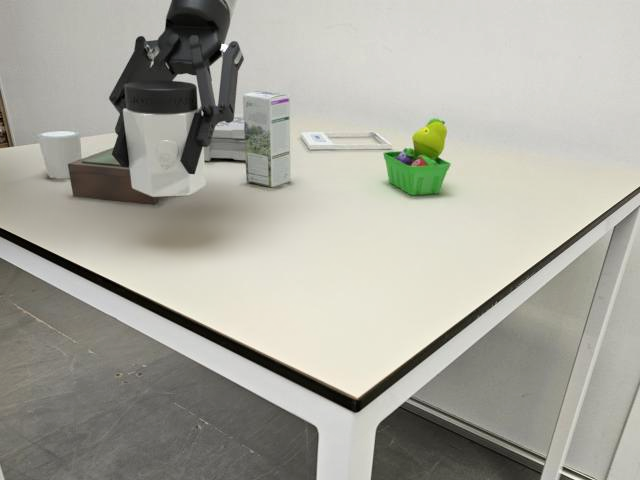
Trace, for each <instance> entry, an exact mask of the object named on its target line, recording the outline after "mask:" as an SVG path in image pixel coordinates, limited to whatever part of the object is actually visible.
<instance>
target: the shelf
mask: <svg viewBox="0 0 640 480" xmlns="http://www.w3.org/2000/svg"><path fill="white" fill-rule="evenodd" d="M113 149H114V146H113V147H111V148H108V149H105V150H102V151H100V152H97V153H94V154H91V155H88V156H85V157H83V158H82V159H80V160H77V161H74V162H71V163H69V164H68V169H69V175H70V178H69V181H70V187H71V192H72V196H73V197H81V198H89V199H99V200H109V201H118V202H129V203H137V204H148V205H156V204H158V203H159V197H152V196H149V195H147V194H145V193H142V192H140V191H137V190H135V189H133V188H132V185H131V176H130V168H129V166H128V168H126V167H122V166H121V165H120V164H119V163H118V161H117V160H116V159H115V158H114V157H113V155H112V151H113Z"/></svg>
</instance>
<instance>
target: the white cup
mask: <svg viewBox="0 0 640 480" xmlns="http://www.w3.org/2000/svg"><path fill="white" fill-rule="evenodd" d="M36 138H37V141H38V144H39V148H40V151H41V154H42V159H43V161H44V165H45V169H46V173H47V176H48V177H49V178H51V179H57V180H59V179H61V180H63V179H70V175H69V169H68V164H69V163H71V162H74V161H77V160H80V159H83V158H82V143H81V133H80V132H79V131H76V130H66V129H63V130H62V129H60V130H57V129H56V130H47V131H42V132H38V133H37V134H36Z"/></svg>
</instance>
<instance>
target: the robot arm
mask: <svg viewBox="0 0 640 480" xmlns="http://www.w3.org/2000/svg"><path fill="white" fill-rule="evenodd" d="M237 2H238V0H171V2H170V4H169V7H168V10H167V14H166V17H165V25H164V31H163V32H162V33H161V34H160V35H159V36H158V38H157V39H155V40H147V39H146V38H145V36H144V35H140V36H139V35H138V36H137V37H136V39H135V43H134V50H133V52H132V54H131V56H130V57H129V60H128V61H127V63H126V65H125V66H124V69H123V70H122V73H121V74H120V76H119V78H118V79H117V82H116V84H115V85H114V87H113V89H112V91H111V93H110V94H109V96H108V100H109V101H110V103H111V105H113V107H114V108H115V110H116V111H117V113H118V114H119V116H118V118H117V122H116V124H115V127H114V132H115V133H114V134H116V135H117V137H116V140H115V143H114V146H113V147H114V149H113V151H112V155H113V157H114V158H115V159H116V160H117V161H118V163H119V164H120V165H121V166H122V167H126V168H128V166H129V159H128V151H127V142H126V133H125V125H124V116H123V109H124V108H127V107H126V99H125V90H124V85H125V84H127V83H130V82H137V81H174V80H175V79H176V77H177V76H178V75H190V76H196V77H195V78H196V83H197V90H198V94H199V98H200V99H199V100H200V101H199V102H200V106H199V108H201V110H202V114H203V116H202V114H201V113H195V114H194V117H193V120H192V124H191V127H190V130H189V133H188V137H187V140H186V143H185V146H184V150H183V153H182V156H181V159H180V162H181V163H182V165H183V166H184V168H185V169H186V171H187V172H188V173H189V174H195V171H196V168H197V165H198V161H199V158H200V154H201V151H202V148H203V147H208V146H209V145H210V143H211V139H212V136H213V133H214V129H215V126H216V125H217V124H218V123H219V122H223V121H225V122H226V123H231V122H232V121H233V120H234V114H235V110H236V98H237V87H238V79H239V77H238V76H239V71H240V68H241V67H242V65H243V62H244V60H245V57H244V55H243V52H242V49H241V47H240V44H239V42H238V41H236V40H233V41H231V42H229V44H226V40H227V36H228V32H229V30H230V26H231V21H232V18H233V15H234V11H235V9H236V4H237ZM220 58H222V62H221V69H220V70H221V71H220V82H219V91H218V101H217V104H216V98H215V93H214V88H213V83H212V81H213V80H212V79H213V78H212V73H211V72H212V71H211V68H210V67H211V66H213V64H215V63H216V61H219V59H220Z"/></svg>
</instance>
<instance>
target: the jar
mask: <svg viewBox="0 0 640 480" xmlns="http://www.w3.org/2000/svg"><path fill="white" fill-rule="evenodd" d="M124 90H125V99H126V107H127V108H124V109H123V116H124V125H125V133H126V142H127V151H128V159H129V168H130V176H131V185H132V188H133V189H135V190H137V191H140V192H142V193H145V194H147V195H149V196H152V197H158V198H159V197H181V196H191V195H193V194H195V193H196V192H197V191H199V190H201V189H202V188H204V187H206V186H207V179H206V164H205V163H206V162H205V160H204V147H203V148H202V151H201V154H200V158H199V161H198V165H197V168H196V171H195V174H189V173H188V172H187V171H186V169H185V168H184V166H183V165H182V163H181V162H180V159H181V156H182V153H183V150H184V146H185V143H186V140H187V137H188V133H189V130H190V127H191V124H192V120H193V117H194V114H195V113H201V114H203V112H202V110H201V108H200V107H199V106H198V105H199V104H198V86H197V85H196V84H194V83H192V82H187V81H179V80H173V81H137V82H130V83H127V84H125V85H124Z"/></svg>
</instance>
